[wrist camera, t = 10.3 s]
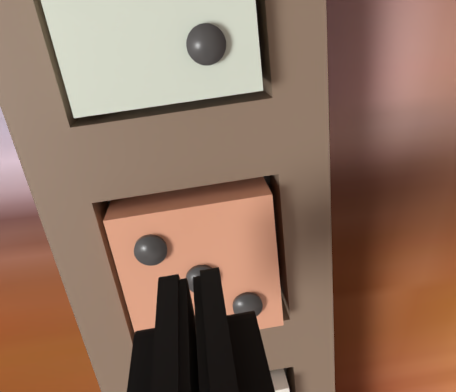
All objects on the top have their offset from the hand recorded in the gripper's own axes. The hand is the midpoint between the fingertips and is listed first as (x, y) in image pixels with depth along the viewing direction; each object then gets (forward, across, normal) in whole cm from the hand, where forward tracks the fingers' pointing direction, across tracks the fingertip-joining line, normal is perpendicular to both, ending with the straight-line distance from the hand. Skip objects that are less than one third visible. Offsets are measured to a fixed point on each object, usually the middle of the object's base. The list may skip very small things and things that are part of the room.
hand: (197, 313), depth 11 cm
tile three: (+5, 0, +1) cm, 6 cm away
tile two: (+6, 0, -8) cm, 10 cm away
